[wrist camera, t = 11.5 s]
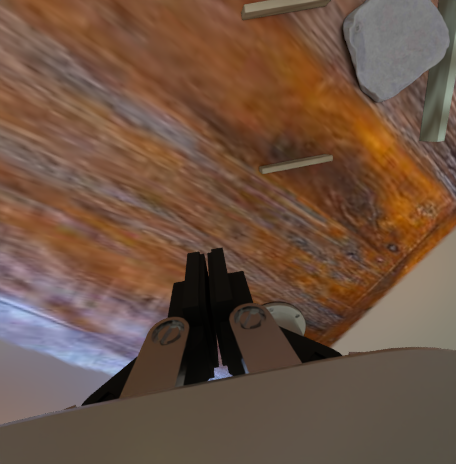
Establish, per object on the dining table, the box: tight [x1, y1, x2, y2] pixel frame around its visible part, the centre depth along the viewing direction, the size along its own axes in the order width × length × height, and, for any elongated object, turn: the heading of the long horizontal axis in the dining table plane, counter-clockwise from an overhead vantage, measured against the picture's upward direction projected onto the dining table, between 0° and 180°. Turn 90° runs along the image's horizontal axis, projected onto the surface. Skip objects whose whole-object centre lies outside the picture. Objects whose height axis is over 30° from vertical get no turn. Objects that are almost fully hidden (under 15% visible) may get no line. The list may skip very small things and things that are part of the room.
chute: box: [241, 0, 456, 174], centre depth 31 cm, size 18×26×3 cm
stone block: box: [343, 0, 450, 102], centre depth 30 cm, size 12×5×10 cm
